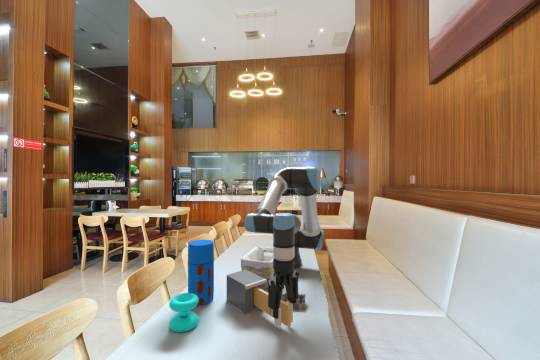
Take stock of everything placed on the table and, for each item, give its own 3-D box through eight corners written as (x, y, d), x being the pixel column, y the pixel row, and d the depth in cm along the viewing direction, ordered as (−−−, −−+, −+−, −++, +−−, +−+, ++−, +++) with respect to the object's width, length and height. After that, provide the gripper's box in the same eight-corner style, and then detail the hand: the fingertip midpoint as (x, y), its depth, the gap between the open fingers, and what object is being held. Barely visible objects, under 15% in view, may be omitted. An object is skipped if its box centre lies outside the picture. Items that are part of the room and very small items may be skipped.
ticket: (250, 302, 103) (250, 285, 103) (253, 301, 104) (253, 284, 104) (288, 327, 86) (288, 306, 86) (291, 325, 87) (291, 305, 87)
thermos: (191, 294, 115) (191, 239, 115) (215, 293, 116) (215, 239, 116) (185, 306, 104) (185, 246, 104) (211, 305, 105) (211, 245, 105)
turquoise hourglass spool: (170, 293, 94) (198, 290, 97) (170, 320, 94) (198, 316, 97) (167, 306, 85) (198, 302, 87) (167, 336, 85) (198, 331, 87)
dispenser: (226, 300, 109) (226, 274, 109) (245, 293, 115) (245, 269, 115) (246, 315, 98) (246, 286, 97) (266, 306, 104) (266, 279, 104)
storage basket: (271, 293, 116) (271, 261, 116) (238, 289, 121) (238, 258, 120) (283, 274, 139) (283, 248, 139) (256, 271, 143) (256, 245, 143)
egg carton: (278, 307, 104) (278, 297, 104) (282, 299, 111) (282, 289, 111) (304, 311, 101) (304, 300, 101) (306, 302, 108) (306, 292, 108)
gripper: (294, 250, 98) (293, 310, 98) (256, 260, 86) (256, 328, 86) (308, 255, 92) (308, 318, 92) (271, 266, 80) (271, 339, 80)
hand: (283, 323), depth 89 cm, fingers open, 5 cm apart
